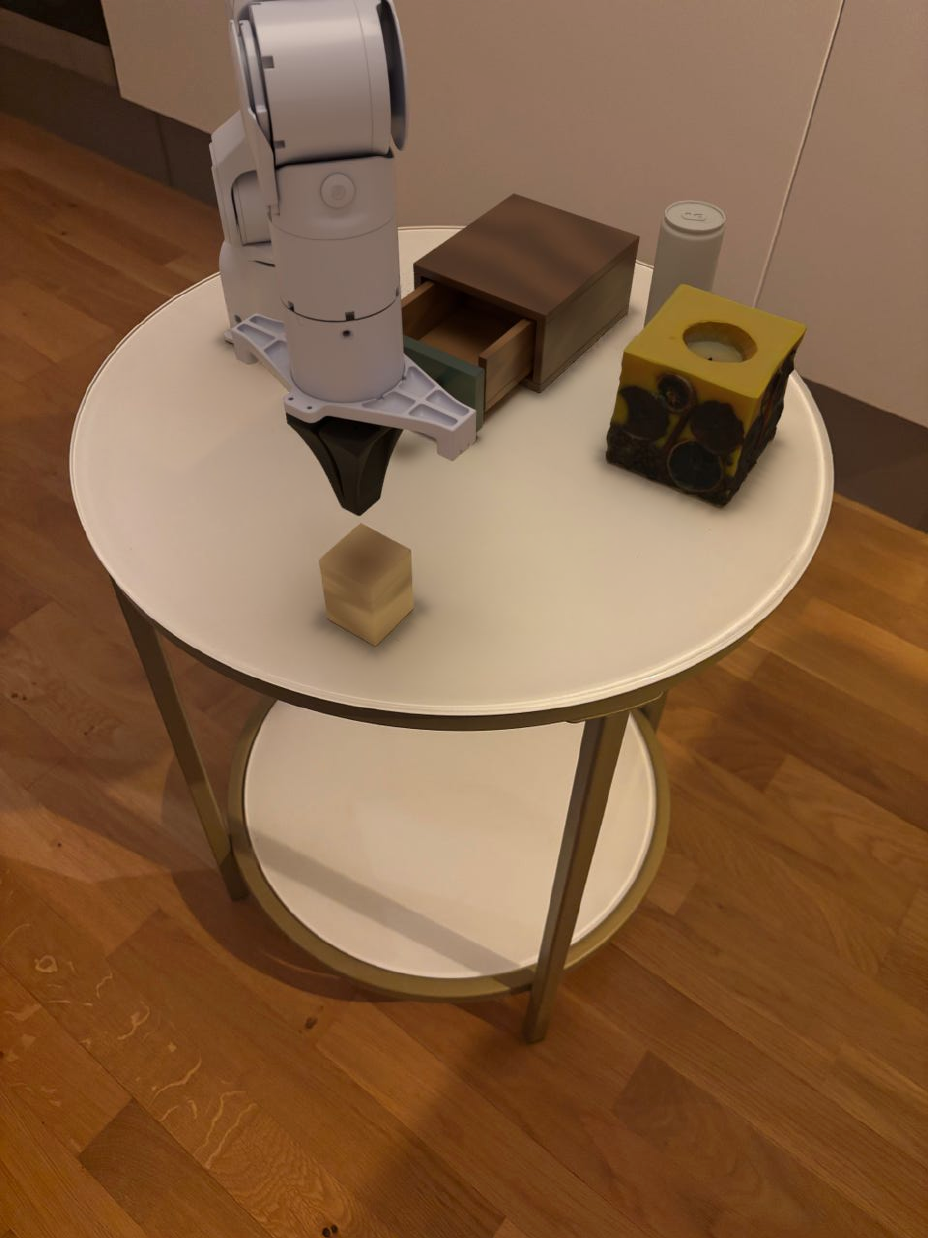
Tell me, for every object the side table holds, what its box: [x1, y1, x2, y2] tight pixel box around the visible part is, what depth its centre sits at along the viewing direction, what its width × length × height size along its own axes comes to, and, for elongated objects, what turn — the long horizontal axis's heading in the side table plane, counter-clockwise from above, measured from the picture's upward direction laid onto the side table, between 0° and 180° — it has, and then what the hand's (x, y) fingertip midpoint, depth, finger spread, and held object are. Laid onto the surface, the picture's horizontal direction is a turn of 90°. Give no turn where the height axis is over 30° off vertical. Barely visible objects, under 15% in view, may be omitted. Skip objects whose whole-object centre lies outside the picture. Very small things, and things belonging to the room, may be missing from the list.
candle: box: [605, 284, 808, 508], centre depth 70 cm, size 10×10×10 cm
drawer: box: [401, 279, 537, 434], centre depth 76 cm, size 18×11×5 cm, turn 145°
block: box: [318, 522, 415, 647], centre depth 61 cm, size 4×4×6 cm
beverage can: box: [642, 199, 727, 329], centre depth 78 cm, size 5×5×12 cm
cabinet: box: [412, 193, 641, 393], centre depth 82 cm, size 15×13×7 cm
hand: (361, 502), depth 56 cm, fingers closed
